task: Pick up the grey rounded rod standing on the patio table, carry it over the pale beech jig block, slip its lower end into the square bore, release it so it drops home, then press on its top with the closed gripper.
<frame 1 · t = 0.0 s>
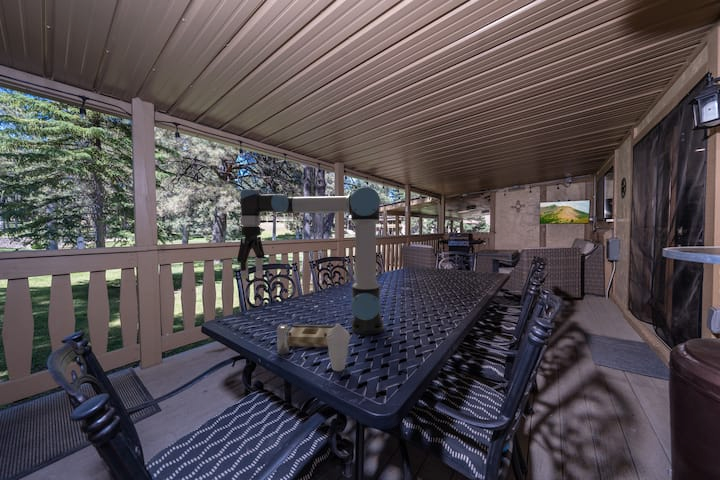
hand: (252, 275, 117), 28 cm above the table, fingers open, 13 cm apart
grey rounded rod: (283, 351, 106), on the table
jig: (310, 340, 116), on the table
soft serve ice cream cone: (338, 368, 93), on the table
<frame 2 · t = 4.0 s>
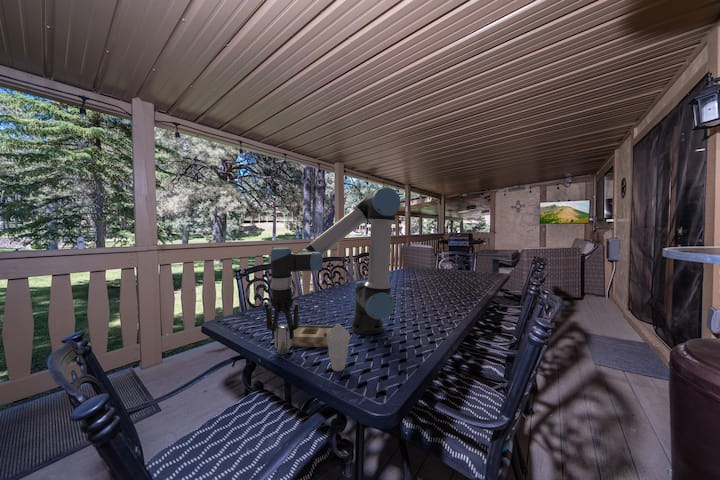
hand: (283, 346, 106), 2 cm above the table, fingers closed on grey rounded rod, 4 cm apart
grey rounded rod: (283, 351, 106), on the table, touching gripper
everything else where it was.
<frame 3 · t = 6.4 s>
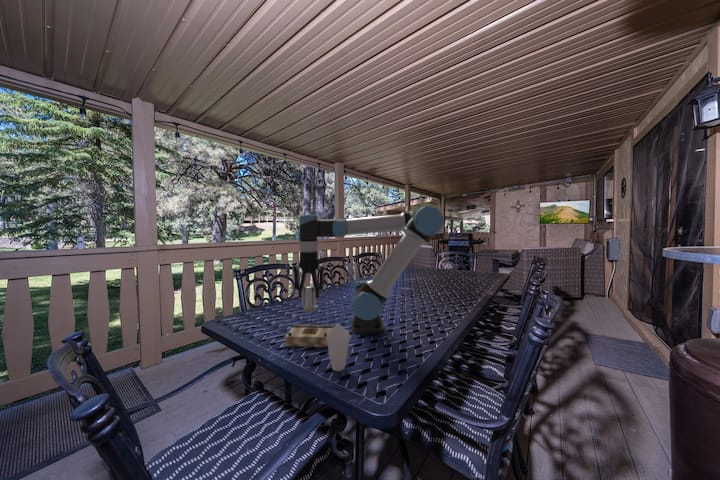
hand: (309, 305, 115), 15 cm above the table, fingers closed on grey rounded rod, 4 cm apart
grey rounded rod: (309, 310, 116), point 13 cm above the table, touching gripper
everything else where it was.
when the fingers open (5 cm above the table, at t = 8.8 s): grey rounded rod drops 3 cm, resting in jig.
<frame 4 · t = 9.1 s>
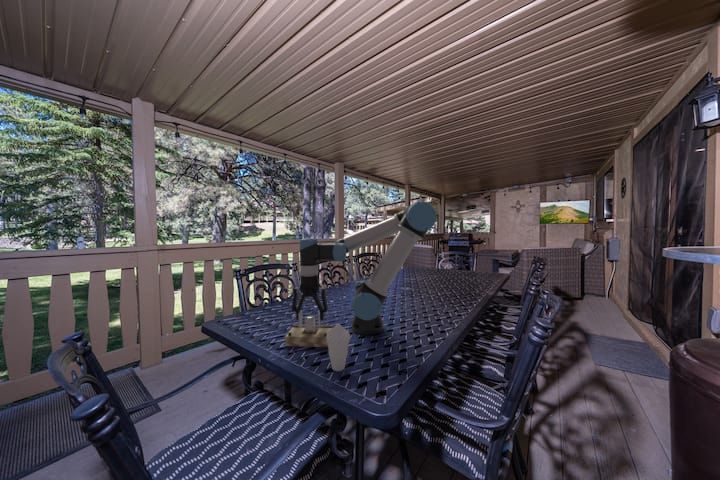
hand: (310, 327, 116), 6 cm above the table, fingers open, 8 cm apart
grey rounded rod: (310, 340, 116), resting in jig
everything else where it was.
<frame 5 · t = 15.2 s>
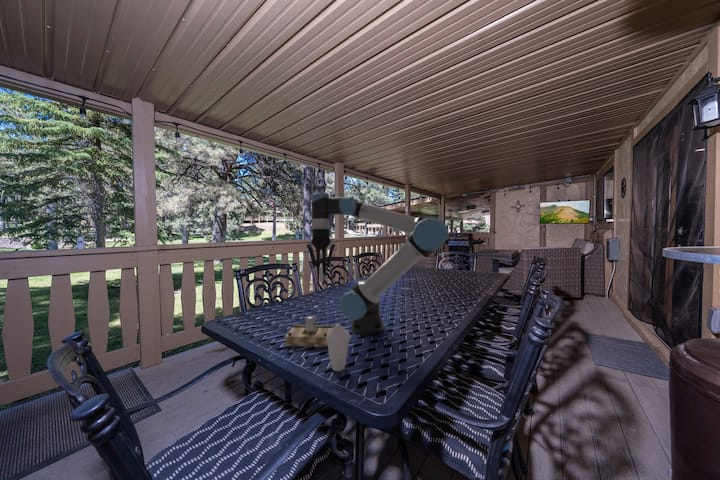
hand: (321, 281, 121), 24 cm above the table, fingers closed
nothing on the table moved.
at the end: grey rounded rod 0.2 cm off-centre on the jig, point 0.0 cm above the jig's base; grey rounded rod tilted 1°; the gripper is holding nothing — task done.
